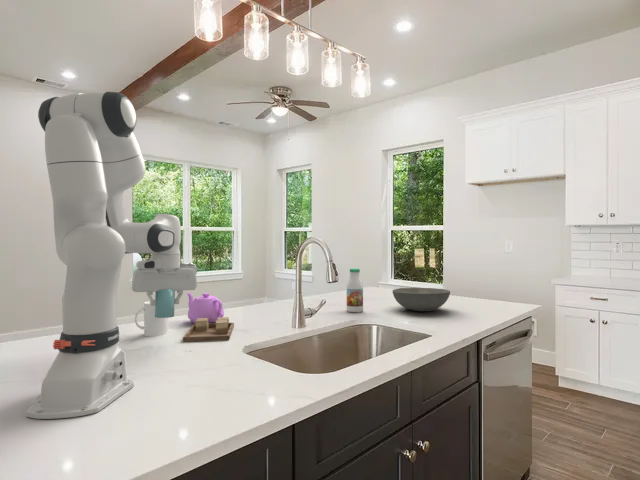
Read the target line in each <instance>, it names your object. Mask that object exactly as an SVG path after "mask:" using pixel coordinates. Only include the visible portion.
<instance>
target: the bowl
mask: <svg viewBox="0 0 640 480" xmlns="http://www.w3.org/2000/svg"><path fill="white" fill-rule="evenodd" d="M392 295H393V297H394V299H395V301H396V303H398V304H399V305H400V306H401V307H403V308H405V309H407V310H410V311H414V312H431V311H434V310H437V309H440V308H441V307H442V306H444V304H446V302H447V301H448V299H449V298H450V295H451V291H450V290H449V289H445V288H437V287H399V288H395V289H392Z"/></svg>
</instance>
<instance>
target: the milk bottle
mask: <svg viewBox="0 0 640 480" xmlns="http://www.w3.org/2000/svg"><path fill="white" fill-rule="evenodd" d="M349 274H350V275H349V277H348V280H347V283H346V311H347V312H349V313H362V312H363V311H364V287H363V286H364V285H363V282H362V280H361V277H360V268H356V267H353V268H352V267H350V268H349Z"/></svg>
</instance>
